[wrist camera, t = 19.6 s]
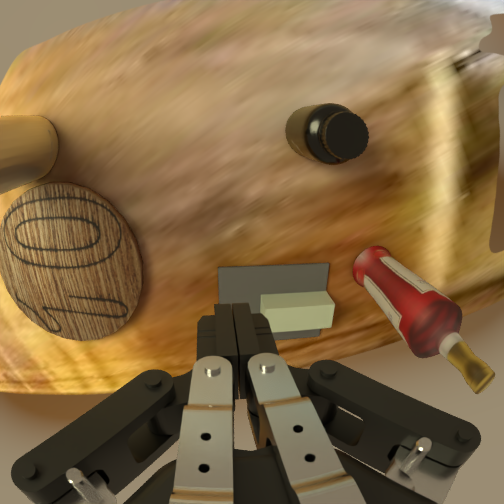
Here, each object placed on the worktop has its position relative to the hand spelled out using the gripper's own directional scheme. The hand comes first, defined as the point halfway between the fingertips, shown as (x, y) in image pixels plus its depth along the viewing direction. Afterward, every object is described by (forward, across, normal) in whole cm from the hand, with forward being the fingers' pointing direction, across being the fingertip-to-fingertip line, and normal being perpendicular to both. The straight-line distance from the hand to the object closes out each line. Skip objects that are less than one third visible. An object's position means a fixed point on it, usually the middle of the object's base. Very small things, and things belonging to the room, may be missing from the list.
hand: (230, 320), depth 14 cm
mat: (+29, -8, +17) cm, 35 cm away
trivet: (+30, +23, +10) cm, 39 cm away
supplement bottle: (+29, -12, -8) cm, 33 cm away
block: (+27, -6, +17) cm, 32 cm away
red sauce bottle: (+29, -23, +11) cm, 39 cm away
